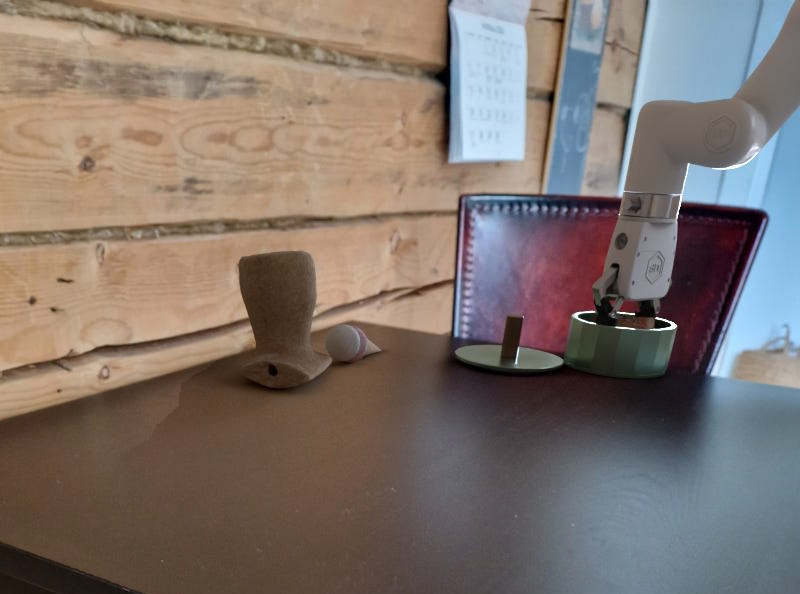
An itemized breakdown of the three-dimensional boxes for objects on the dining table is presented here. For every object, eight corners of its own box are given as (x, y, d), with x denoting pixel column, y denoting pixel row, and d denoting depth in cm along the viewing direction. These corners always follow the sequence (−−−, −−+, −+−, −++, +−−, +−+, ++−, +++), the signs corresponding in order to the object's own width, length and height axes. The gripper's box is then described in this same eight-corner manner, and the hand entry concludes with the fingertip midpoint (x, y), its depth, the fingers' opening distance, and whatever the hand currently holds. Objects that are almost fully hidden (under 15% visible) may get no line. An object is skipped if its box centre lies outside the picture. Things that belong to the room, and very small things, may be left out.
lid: (504, 348, 133) (511, 303, 129) (584, 370, 122) (594, 321, 119) (432, 357, 125) (437, 309, 121) (511, 381, 114) (519, 329, 111)
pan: (603, 352, 134) (613, 308, 131) (685, 372, 124) (697, 325, 121) (543, 360, 127) (551, 314, 123) (624, 382, 117) (636, 333, 113)
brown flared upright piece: (255, 360, 117) (256, 240, 109) (339, 370, 115) (346, 247, 107) (215, 385, 104) (213, 251, 97) (309, 396, 102) (315, 259, 94)
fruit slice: (641, 348, 127) (649, 312, 125) (654, 357, 121) (663, 320, 119) (584, 345, 127) (591, 309, 125) (595, 354, 121) (603, 317, 119)
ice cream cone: (361, 354, 129) (313, 345, 116) (379, 327, 126) (331, 315, 114) (384, 373, 128) (337, 367, 115) (402, 346, 125) (356, 336, 113)
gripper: (633, 211, 108) (605, 353, 116) (710, 211, 117) (678, 343, 126) (585, 206, 113) (561, 343, 122) (662, 207, 122) (635, 334, 131)
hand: (621, 342), depth 124 cm, fingers closed on fruit slice, 8 cm apart
